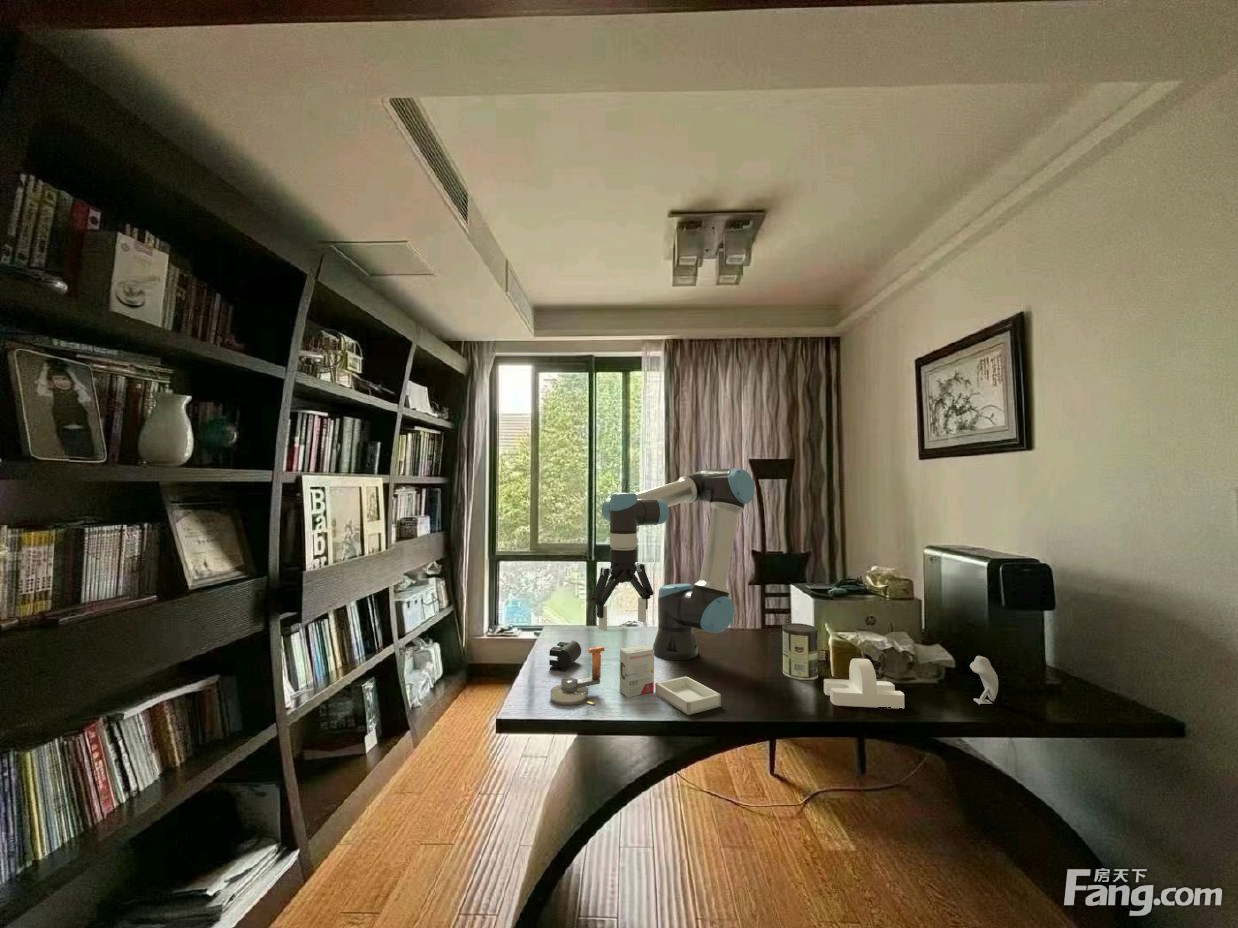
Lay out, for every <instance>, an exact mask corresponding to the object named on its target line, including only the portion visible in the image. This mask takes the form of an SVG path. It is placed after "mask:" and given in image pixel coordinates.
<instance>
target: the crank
mask: <svg viewBox="0 0 1238 928" xmlns="http://www.w3.org/2000/svg"><path fill="white" fill-rule="evenodd" d="M602 652H605V647H604V646H597V647H590V648H588V654H591V676H589V677H584V678H579V679H577V678H575V677H566V678H563V679H561V680H560V681H561V683H560V684H561V690H562V691H565V692H573V691H576V690H577V689H578V688H581V687H589V686H594V685H600V684H601V677H602V676H601V673H602V672H601V664H602V663H601V662H602V660H601V659H602V656H601V655H602Z"/></svg>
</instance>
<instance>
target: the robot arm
mask: <svg viewBox="0 0 1238 928" xmlns="http://www.w3.org/2000/svg"><path fill="white" fill-rule="evenodd" d="M754 483H755V482H754V481H753V478H752V476H751V474H750V473H749V472H748V471H747V470H745V469H743V468H733V467H732V468H716V469H715V468H714V469H713V468H707V469H704V470H703V469H702V470H699V471H696V472H693V473H690V474H687V475H684V476H681V477H679V478H678V479H677V480H676V481H673V482H671V483H667V484H664V485H660V486H657V487H652V488H649V489H645V490H642V491H639V492H636V493H635V492H614V493H612V494H611V495H610V497H609V498H607V499H605V500H604V501H603V503H602V505H601V514H602V517H603V519H605V520H606V521H607V522H609V547H610V550H609V563H610V566H609V568H608V567H605V566H604V567H603V566H602V567H600V572H599V577H598V580H597V582H596V584H595V588H594V589H593V592H592V595H591V598H590V600H589V601H590V603H591V604H593V605H596V618H598V629H599V630H601V631H603V632H606V631H608V605H606V603H607V601H608V600H609V598H610V597H611V595H612V593H613V591H614V590H615V589H616V587H617V586H618V585H619V584H622V583H623V584H624V583H630V584H631V586H632V587H633V588H634V590H635V591H636V592H637V594H638V595H639V596H640V597H637V621H638V622H639V623H640V622H641V623H643V624H644V623H647V610H648V605H649V602H648V601H649V600H650V599H651V596H653V595H654V590H653V588H652V585H651V583H650V580H649V577H648V575H647V573H646V566H645V565H646V564H644V563H639V562H637V561H638V559H637V557H638V553H637V549H636V547H638V538H637V537H638V527H640V526H657V525H662V524H665V523H666V522H667V520H668V518H669V515H670V514H669V513H670V511H669V510H670V509H669V508H670V507H673V506H676V505H679V504H683V503H685V504H691V503H694V502H695V503H696V502H705V503H709V504H708V505H709V506H710V508H711V510H712V512H711V518H710V522H709V527H708V534H707V536H706V537H707V539H706V544H705V549H704V554H703V559H702V560H703V561H702V564H701V570H700V574H699V575H700V576H699V579H698V580H697V582H695V583H694V584H691V583H674V584H673V583H671V584H665V585H661V586H660V587H659V589H658V597H657V611H658V612H657V613H658V615H657V616H658V617H657V618H658V620H657V621H658V622H657V623H658V625H657V626H658V628H657V632H656V635H655V639H654V643H653V645H652V649H653V650H654V656H657V657H658V658H661V659H665V660H672V661H685V660H691V659H695V658H696V657H697V656H698V653H699V651H698V650H699V648H698V645H697V641H696V638H695V633H694V632H693V629H697V630H701V631H703V632H707V633H713V634H719V633H722V632H724V631H726V629H727V628H728V627H729V626H730V625H731V623H732V620H733V618H734V615H735V606H734V602H733V600H732V599H731V598H730V590H728V588H727V581H728V576H729V569H730V563H731V559H732V558H731V557H732V552H733V548H734V547H733V546H734V540H735V536H736V535H735V534H736V529H737V524H738V517H739V515H740V514H741V513H743V512H744V510H745V505H747V504H750V503H751V502H752V501H753V499H754V496H755V484H754ZM636 562H637V563H636ZM635 573H637V576H638V577H637V576H636V574H635Z"/></svg>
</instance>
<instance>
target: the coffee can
mask: <svg viewBox="0 0 1238 928" xmlns="http://www.w3.org/2000/svg"><path fill="white" fill-rule="evenodd" d="M781 628H782V629H781V630H782V673H783V675H784V676H785V677H788V678H791V679H793V680H798V681H799V680H800V681H813V680H817V679H819V669H818V668H819V667H818V666H819V665H818V664H819V663H818V661H819V660H818V659H819V658H818V654H819V653H818V651H819V649H818V632H819V629H818V628H817V627H816V626H814V625H811V624H805V623H800V622H799V623H798V622H797V623H795V622H793V623H789V622H788V623H784V624H783V625H782V626H781Z"/></svg>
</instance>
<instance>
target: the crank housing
mask: <svg viewBox="0 0 1238 928" xmlns="http://www.w3.org/2000/svg"><path fill="white" fill-rule="evenodd" d="M549 694H550V698H549V699H550V702H551V703H552V704H555V705H557V706H563V707H574V706H579V705H582V704H584V703H585V704H588V705H591V706H595V705H596V703H595V702H592V701H590V700H588V699H589V689H588V686H586V687H581V688H578V689H577V690H576V691H573V692H565V691H562V690H561V683H560V684H557V685H555V686H553V687H552V688H551V689H550V693H549Z"/></svg>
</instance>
